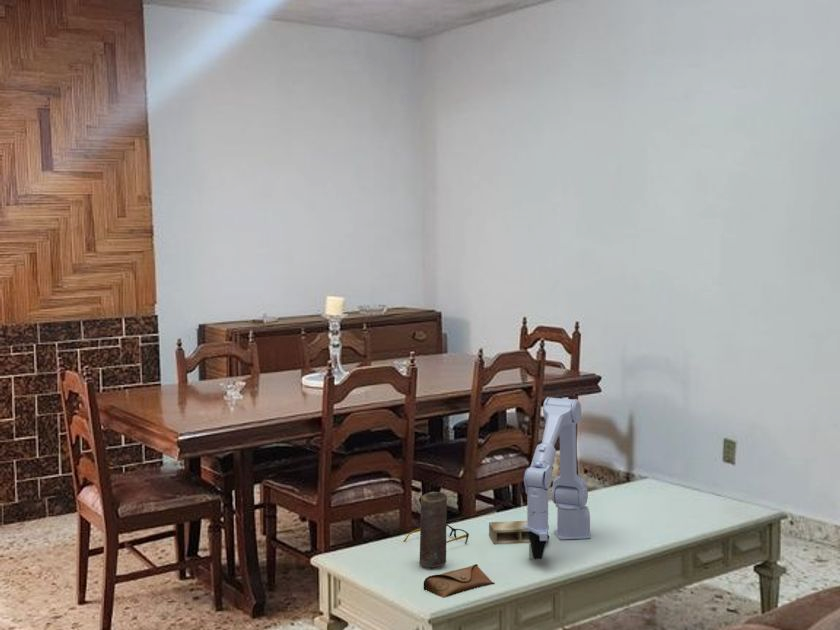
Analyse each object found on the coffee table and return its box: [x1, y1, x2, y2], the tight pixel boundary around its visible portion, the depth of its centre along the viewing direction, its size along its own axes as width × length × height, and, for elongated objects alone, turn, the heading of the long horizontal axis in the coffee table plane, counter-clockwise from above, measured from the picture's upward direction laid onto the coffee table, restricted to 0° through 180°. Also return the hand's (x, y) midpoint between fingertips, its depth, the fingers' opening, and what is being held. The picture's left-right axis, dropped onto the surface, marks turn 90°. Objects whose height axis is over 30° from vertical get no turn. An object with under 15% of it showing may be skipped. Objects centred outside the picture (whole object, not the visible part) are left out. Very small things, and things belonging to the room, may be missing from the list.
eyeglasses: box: [402, 523, 470, 544], centre depth 290 cm, size 14×14×4 cm
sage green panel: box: [528, 531, 549, 560], centre depth 282 cm, size 16×1×4 cm, turn 156°
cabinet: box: [488, 520, 530, 545], centre depth 293 cm, size 16×8×4 cm, turn 96°
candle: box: [419, 491, 448, 569], centre depth 269 cm, size 8×7×20 cm
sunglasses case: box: [423, 563, 495, 599], centre depth 255 cm, size 18×7×7 cm, turn 127°
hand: (537, 558), depth 272 cm, fingers closed
